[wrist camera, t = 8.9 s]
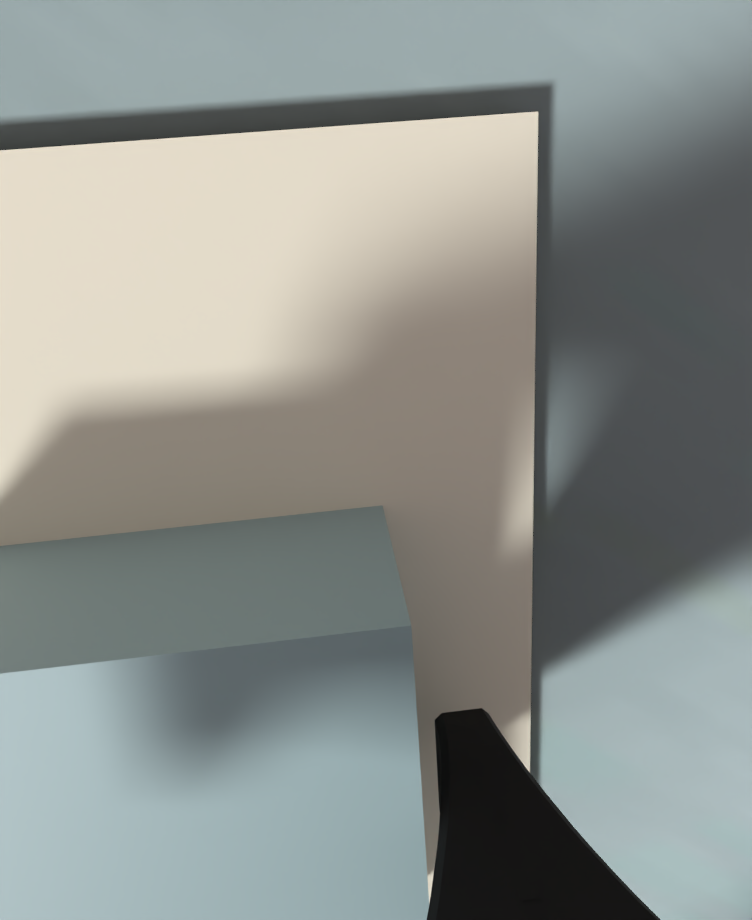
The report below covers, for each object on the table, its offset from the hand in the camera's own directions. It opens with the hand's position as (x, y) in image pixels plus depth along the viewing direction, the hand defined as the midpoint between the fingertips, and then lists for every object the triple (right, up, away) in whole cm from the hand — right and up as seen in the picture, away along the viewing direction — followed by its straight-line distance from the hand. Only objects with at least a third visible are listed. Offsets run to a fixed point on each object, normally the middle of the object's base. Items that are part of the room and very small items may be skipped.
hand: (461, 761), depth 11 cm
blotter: (-4, 0, +1) cm, 4 cm away
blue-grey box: (-1, 0, 0) cm, 1 cm away
